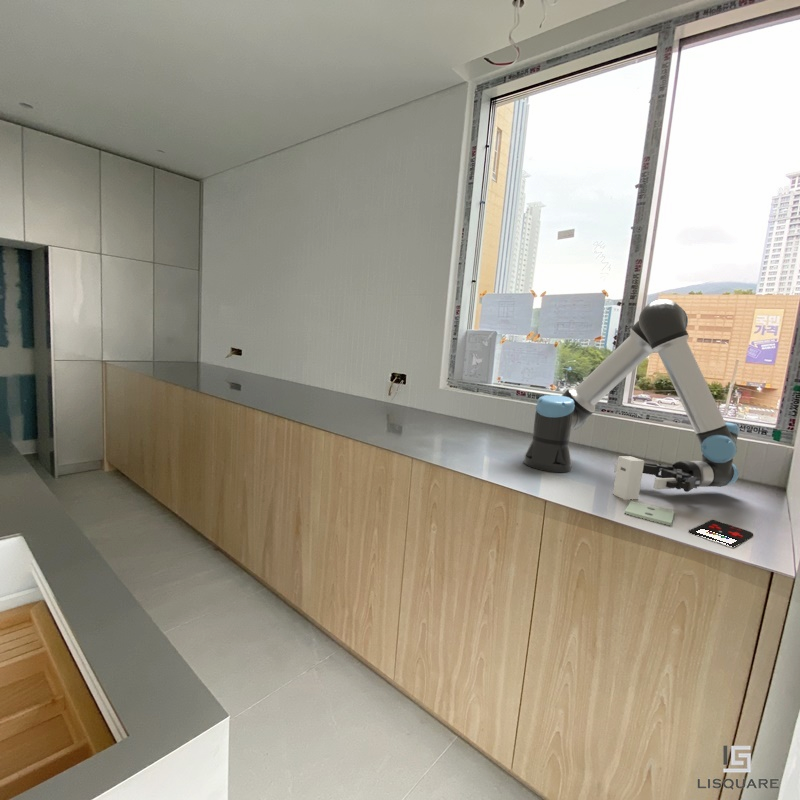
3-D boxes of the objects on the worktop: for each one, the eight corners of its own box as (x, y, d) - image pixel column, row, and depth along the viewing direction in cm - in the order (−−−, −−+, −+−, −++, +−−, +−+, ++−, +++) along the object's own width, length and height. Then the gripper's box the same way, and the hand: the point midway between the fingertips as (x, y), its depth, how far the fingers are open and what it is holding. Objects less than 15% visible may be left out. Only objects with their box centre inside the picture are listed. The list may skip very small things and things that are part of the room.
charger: (612, 494, 126) (618, 456, 125) (625, 493, 128) (631, 456, 126) (624, 500, 122) (631, 460, 121) (638, 499, 124) (644, 460, 122)
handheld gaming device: (755, 531, 105) (733, 545, 96) (754, 536, 105) (732, 551, 96) (712, 518, 112) (688, 529, 103) (711, 522, 112) (687, 534, 103)
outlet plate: (624, 513, 111) (624, 510, 111) (630, 503, 119) (630, 500, 119) (670, 526, 106) (671, 523, 106) (673, 514, 114) (674, 511, 114)
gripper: (731, 502, 120) (672, 505, 113) (652, 473, 143) (599, 474, 136) (736, 475, 119) (677, 476, 112) (656, 450, 142) (603, 450, 135)
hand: (634, 475), depth 124 cm, fingers open, 13 cm apart
